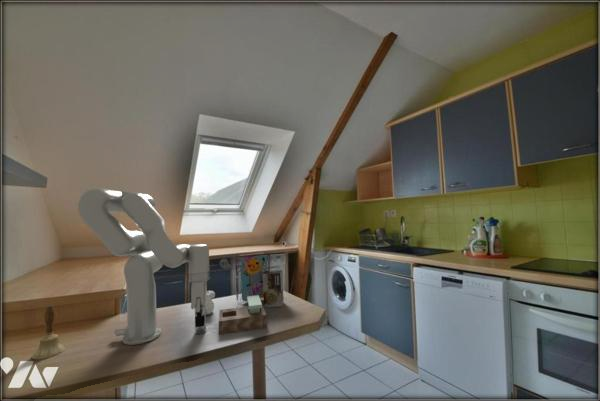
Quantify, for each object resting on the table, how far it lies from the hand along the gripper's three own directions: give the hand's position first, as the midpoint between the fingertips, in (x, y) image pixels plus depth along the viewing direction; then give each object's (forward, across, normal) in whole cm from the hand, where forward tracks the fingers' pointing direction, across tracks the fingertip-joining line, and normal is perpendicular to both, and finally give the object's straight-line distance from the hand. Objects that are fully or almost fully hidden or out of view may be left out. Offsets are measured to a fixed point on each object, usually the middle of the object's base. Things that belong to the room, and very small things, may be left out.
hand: (200, 323), depth 103 cm
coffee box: (+4, -19, +32) cm, 37 cm away
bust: (+4, -19, +1) cm, 19 cm away
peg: (+3, 0, 0) cm, 3 cm away
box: (+3, -26, +19) cm, 32 cm away
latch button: (0, -1, +21) cm, 21 cm away
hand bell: (+4, -1, -49) cm, 49 cm away
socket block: (+3, -1, +16) cm, 16 cm away
